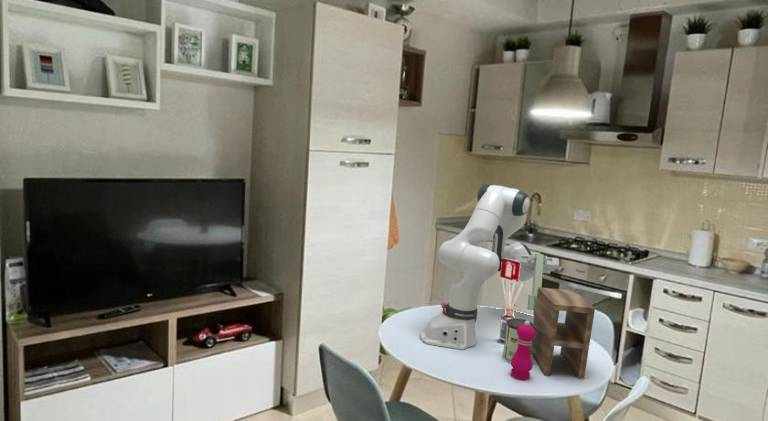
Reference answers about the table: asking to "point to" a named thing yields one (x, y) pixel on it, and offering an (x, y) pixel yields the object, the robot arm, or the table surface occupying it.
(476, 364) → the table surface
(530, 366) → the pepper mill
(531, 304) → the green bar
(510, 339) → the coffee can
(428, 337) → the robot arm
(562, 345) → the walnut shelf
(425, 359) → the table surface
